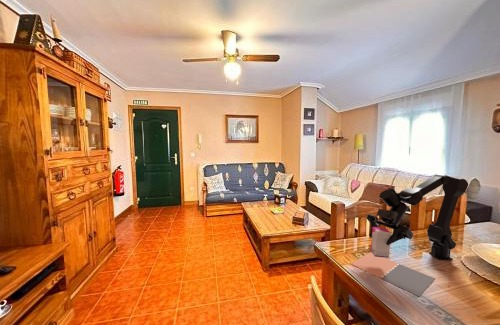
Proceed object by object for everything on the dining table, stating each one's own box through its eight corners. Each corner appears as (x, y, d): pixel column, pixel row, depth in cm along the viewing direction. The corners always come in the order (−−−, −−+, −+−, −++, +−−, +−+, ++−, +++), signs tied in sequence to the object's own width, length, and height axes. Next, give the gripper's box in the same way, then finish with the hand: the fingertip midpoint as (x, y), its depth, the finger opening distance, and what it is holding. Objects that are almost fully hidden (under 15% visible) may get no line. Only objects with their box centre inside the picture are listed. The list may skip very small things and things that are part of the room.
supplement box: (389, 258, 95) (391, 232, 94) (374, 256, 96) (376, 231, 95) (384, 251, 100) (385, 227, 99) (370, 250, 102) (371, 226, 100)
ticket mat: (435, 278, 89) (435, 278, 89) (419, 296, 79) (419, 295, 79) (370, 252, 110) (370, 251, 110) (350, 263, 100) (350, 263, 100)
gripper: (369, 197, 106) (352, 223, 103) (410, 208, 89) (391, 239, 86) (379, 211, 110) (363, 236, 107) (421, 224, 93) (402, 254, 90)
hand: (378, 240), depth 97 cm, fingers closed on supplement box, 8 cm apart
